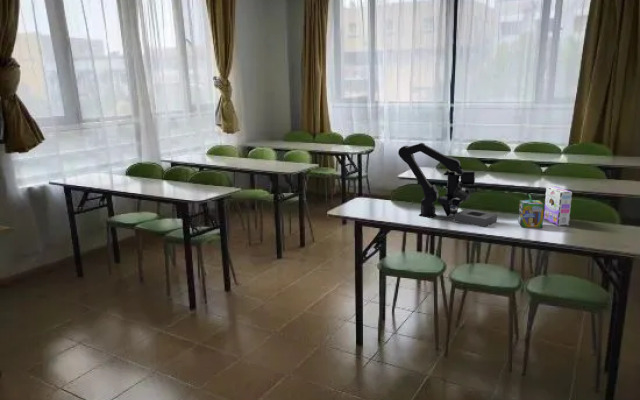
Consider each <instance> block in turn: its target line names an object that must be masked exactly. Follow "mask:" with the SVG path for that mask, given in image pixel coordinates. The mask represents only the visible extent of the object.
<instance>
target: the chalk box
mask: <svg viewBox="0 0 640 400" xmlns="http://www.w3.org/2000/svg"><path fill="white" fill-rule="evenodd" d="M528 198H529V199H520V200H519V205H518V208H519V209H518V219H517V220H518V222H517V223H518V224H519V226H520V227H521V228H524V229H525V228H526V229H527V228H529V229H530V228H535V229H539V228H540V229H542V228H543V222H544V208H545V203H543V202H542V201H540V200H537V199H536V200H534V199H533V198H532V196H531V194H530V193H528Z"/></svg>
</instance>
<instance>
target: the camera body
mask: <svg viewBox="0 0 640 400" xmlns="http://www.w3.org/2000/svg"><path fill="white" fill-rule="evenodd" d="M497 221H498V214H497V213H492V212H486V211H482V210H481V211H480V210H474V209H468V208H466V209H464V210H461V211H458V213H455V219H454V222H456V223H462V224H467V225H471V226H477V227H482V228H487V227H489V226H491V225H494V224H496V223H497Z"/></svg>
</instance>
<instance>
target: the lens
mask: <svg viewBox="0 0 640 400" xmlns="http://www.w3.org/2000/svg"><path fill="white" fill-rule="evenodd" d="M458 210H459V208H458V209H457V206H456V205H453V204H452V205H451V207H450V213H449V216H447V215H446V214H445V217H446V218H447V219H449V220H450V219H452V220H453V219H454V220H455V213H458V212H459V211H458Z"/></svg>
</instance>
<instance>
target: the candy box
mask: <svg viewBox="0 0 640 400" xmlns="http://www.w3.org/2000/svg"><path fill="white" fill-rule="evenodd" d="M572 197H573V191H570V190H567V189H565V188H562V187H560V186H546V187H545V197H544V208H543V220H546V221H547V222H549V223H552V224H553V225H556V226H558V227H559V226H561V227H562V226H563V227H564V226H570V220H571V219H570V218H571V207H572V199H573V198H572Z"/></svg>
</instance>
